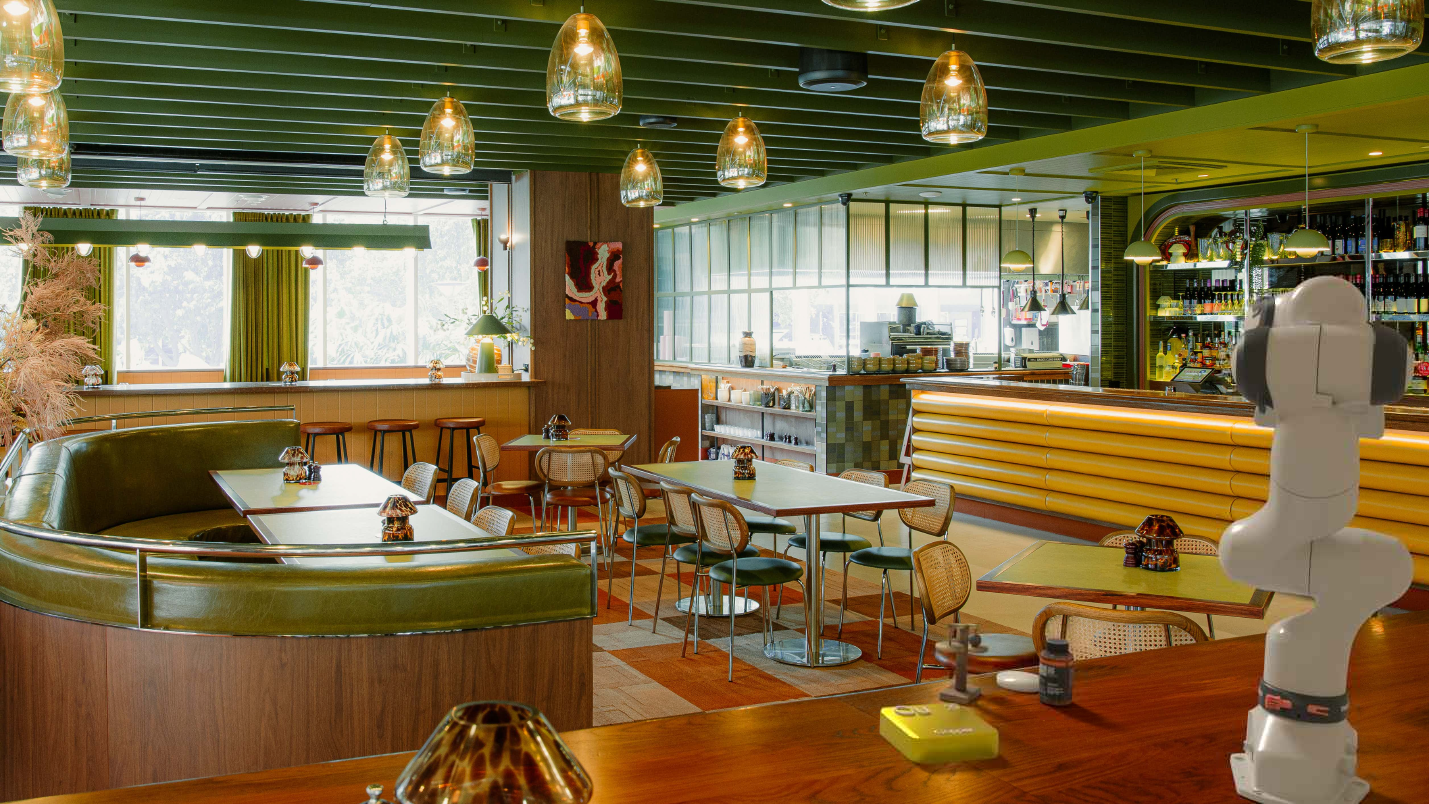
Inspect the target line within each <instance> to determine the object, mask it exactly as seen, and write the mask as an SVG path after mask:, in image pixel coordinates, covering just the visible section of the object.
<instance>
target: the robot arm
mask: <svg viewBox="0 0 1429 804" xmlns="http://www.w3.org/2000/svg"><path fill="white" fill-rule="evenodd" d="M1368 310H1369V308H1368V304H1367V302H1366V298H1365V297H1364V294H1363V293H1362V292H1361V290H1360V289H1359V288H1358V287H1357V286H1355V285H1354V284H1353V283H1351V282H1350V281H1348V280H1346V279H1344V278H1342V277H1338V276H1333V275H1321V276H1320V275H1319V276H1315V277H1312V278H1309V279H1306V280H1304V281H1302V282H1301V283H1300V284H1298V285H1297V286H1296V287H1294V289H1293V290H1291V291H1288V292H1284V293H1282V294H1278V295H1276V296H1268V295H1263V296H1261V297H1260V298H1258V299H1256V300H1255V301H1254V302H1252V304H1251V305H1250V307H1249V309H1248V311H1247V313H1246V315H1245V318H1244V324H1243V333H1242V334H1241V335H1240V336H1239V337H1238V340H1237V343H1236V344H1235V346H1234V349H1233V350H1232V351H1233V352H1232V354H1231V359H1230V368H1231V375H1232V377H1233V380H1234V382H1235V385H1236V389H1237V390H1238V392H1239V393H1240V394H1241V395H1242V396H1243V398H1245V400H1246V401H1248V402H1250V403H1251V404H1253V405H1255V406H1256V407H1255V410H1254V414H1253V415H1254V416H1253V422H1254V424H1256V426H1258V427H1261V428H1269V429H1270V428H1271V429H1274V432H1273V438H1272V444H1271V449H1270V450H1271V451H1270V464H1269V465H1270V468H1269V469H1270V474H1269V475H1270V478H1269V479H1270V480H1269V493H1268V497H1267V498H1268V499H1267V501H1266V503H1265V504H1264V505H1263V507H1261V508H1260V509H1258V511H1256V512H1255V513H1253V514H1251V515H1250V516H1247V517H1244V518H1241V519H1238V520H1235V521H1234V522H1231V524H1230V525H1229V526H1227V528H1226V529H1225V530H1224V532H1223V534H1222V536H1221V538H1220V539H1219V540H1220V541H1219V543H1218V549H1217V550H1218V552H1217V553H1218V559H1219V564H1220V565H1221V568H1222V570H1223V571H1224V573H1225V574H1226V576H1227V577H1228V578H1229V579H1230V580H1231V581H1233V582H1236V583H1239V584H1242V585H1245V586H1249V587H1251V588H1255V589H1257V590H1258V589H1259V590H1262V591H1270V592H1277V593H1283V594H1291V595H1300V596H1306V597H1311V598H1313V599H1314V600H1315V604H1314V606H1313V607H1312V608H1311V609H1309V610H1307V611H1306V612H1303V613H1300V614H1297V615H1291V616H1289V617H1286V618H1283V619H1281V620H1279V621H1276V622H1275V623H1274V624H1273V625H1271V627H1270V628H1269V629H1268V630H1267V633H1266V636H1265V649H1264V668H1263V669H1264V670H1263V676H1262V677H1261V678H1260V681H1259V686H1258V704H1257V705H1256V706H1255V707H1254V708H1251V710H1248V716H1247V728H1246V729H1247V730H1246V739H1245V740H1243V742H1242V746H1241V747H1242V748H1243V751H1244V752H1245V753H1243V752H1241V753H1240V752H1239V753H1232V754H1231V755H1230V760H1229V762H1230V766H1231V771H1232V776H1233V781H1234V783H1235V789H1236V792H1237V794H1238V795H1239V796H1242V797H1244V798H1247V799H1249V800H1252V801H1255V802H1258V803H1261V804H1359V803H1360V802H1361V801H1362V800H1363V799H1364V798H1365V797H1366V796H1367V795H1368V793H1370V789H1371V788H1370V787H1371V786H1370V782H1368V781H1366V780H1365V779H1362V778H1360V777H1358V776H1356V775H1357V773H1358V763H1357V756H1358V753H1359V746H1358V731H1357V730H1356V729H1355V728H1354V727H1353V726H1352V725H1351V724H1350V722H1349V721H1348V720H1347V717H1348V711H1349V707H1350V700H1349V692H1348V691H1347V688H1346V687H1347V676H1348V667H1349V662H1350V655H1351V650H1352V646H1353V642H1354V640H1355V637H1356V636H1357V633H1358V631H1359V630H1360V628H1361V627H1362V625H1363V624H1364V623H1365V622H1366V621H1367V620H1368V619H1369V618H1370V617H1371V616H1372V615H1373V614H1375V613H1376V612H1378V610H1380V609H1382V608H1384V607H1385V606H1387V605H1389V604H1392V603H1394V602H1396V601H1397V600H1399V599H1400V598H1401V597H1403V595H1404V594H1405V593H1406V592H1407V591H1408V590H1409V588H1410V586H1411V584H1412V582H1413V578H1414V561H1413V557H1412V555H1411V553H1410V551H1409V549H1408V547H1406V545H1405V544H1404V543H1403V542H1402V541H1401V540H1400V539H1399V538H1398V537H1396V536H1391V535H1388V534H1385V533H1382V532H1377V531H1374V530H1371V529H1366V528H1359V527H1350V526H1347V525H1348V524H1349V523H1350V522H1351V521H1352V519H1354V517H1355V515H1356V513H1357V511H1358V507H1359V506H1358V504H1359V503H1358V502H1359V488H1360V487H1359V486H1360V472H1361V471H1360V468H1361V467H1360V464H1361V463H1360V451H1359V450H1360V448H1359V445H1360V439H1367V440H1375V441H1379V440H1380V439H1382V438H1383V437H1384V435H1385V425H1386V423H1385V422H1386V421H1385V419H1386V417H1385V407H1384V405H1385V406H1386V405H1390V404H1394V403H1398V402H1399V401H1400V400H1401V399H1402V398H1403V397H1404V396H1405V394H1406V393H1405V392H1406V391H1407V389H1408V388H1409V386H1410V384H1411V383H1412V380H1413V377H1414V374H1415V373H1414V372H1415V362H1414V361H1415V360H1414V356H1413V352H1412V350H1411V347H1410V346H1409V344H1408V340H1407V339H1406V337H1404V335H1402V334H1401V333H1400V332H1399V331H1397V330H1396V329H1393V328H1391V327H1389V326H1387V325H1384V324H1383V323H1382V318H1380V317H1376V318H1375V322H1371V321H1370V317H1369V311H1368Z"/></svg>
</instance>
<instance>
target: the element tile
mask: <svg viewBox="0 0 1429 804" xmlns="http://www.w3.org/2000/svg"><path fill="white" fill-rule="evenodd" d="M879 714H880V716H879V717H880V719H879V734H880V736H881V737H883V739H885V740H886V741H887V742H889V743H890V744H891V745H892V746H893V747H894V748H896V749H897V750H898V751H899V752H900V753H901V754H902V755H903V756H904V757H906V758H907V760H909V761H911V762H913V763H915V764H916V763H917V764H921V765H931V764H944V763H953V762H955V763H956V762H957V763H958V762H968V761H969V762H970V761H980V760H982V761H983V760H991V759H995V758H998V755H999V739H1000V738H999V735H1000V733H999V731H998V730H997V728H995V727H994V726H992V725H990V724H989V723H988V722H986V721H985V720H984V719H982V718H980V717H979V716H977V715H976V714H975V713H973V712H972V711H970V710H969V709H968V708H966V707H964V705H962V704H959V703H954V702H948V703H947V702H946V703H945V702H944V703H931V704H915V705H897V706H886V707H881V709H880V713H879Z"/></svg>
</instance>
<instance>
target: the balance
mask: <svg viewBox="0 0 1429 804" xmlns="http://www.w3.org/2000/svg"><path fill="white" fill-rule="evenodd" d="M947 629H949V635H948V641H938V642H935V647H934V648H935V649H936V650H937V651H940V652H941V653H942V652H943V653H947V654H956V662H955V663H956V664H955V681H954V682H953V683H951V684H950V685H948V686H947V687H946V688H944V689H943V690H941V692H939V698H938V699H939V700H941V701H946V702H949V703H957V704H959V705H962V706H967V705H969V703H971V702H972V701H973V700H975V699H976V698H977V697H978V696H980V695H981V693H982V687H981V686H977V685H973V684H972V685H971V684H969V683H967V681H968V680H967V679H968V661H969V658H968V657H969V653H972V654H985V653H988V652H989V646H988V645H986V644H984V643H982V640H983V639H982V637H981V635H980V634H979V633H978V632H977V630H979V629H980V625H979V624H975V623H947ZM953 630H957V636H956V637H957V638H956V639H957V640H956V642H955V641H952V637H953V636H952V633H953ZM970 630H973V631H974V633H971V634H970Z"/></svg>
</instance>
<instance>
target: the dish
mask: <svg viewBox="0 0 1429 804" xmlns="http://www.w3.org/2000/svg"><path fill="white" fill-rule="evenodd" d="M996 684H997V685H998V686H1000V688H1004V689H1005V690H1009V691H1012V692H1013V691H1014V692H1018V693H1019V692H1020V693H1039V674H1038V675H1037V674H1035V673H1030V672H1025V671H1019V670H1018V671H1017V670H1009V671H1001V672H999V673H997V675H996Z"/></svg>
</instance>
